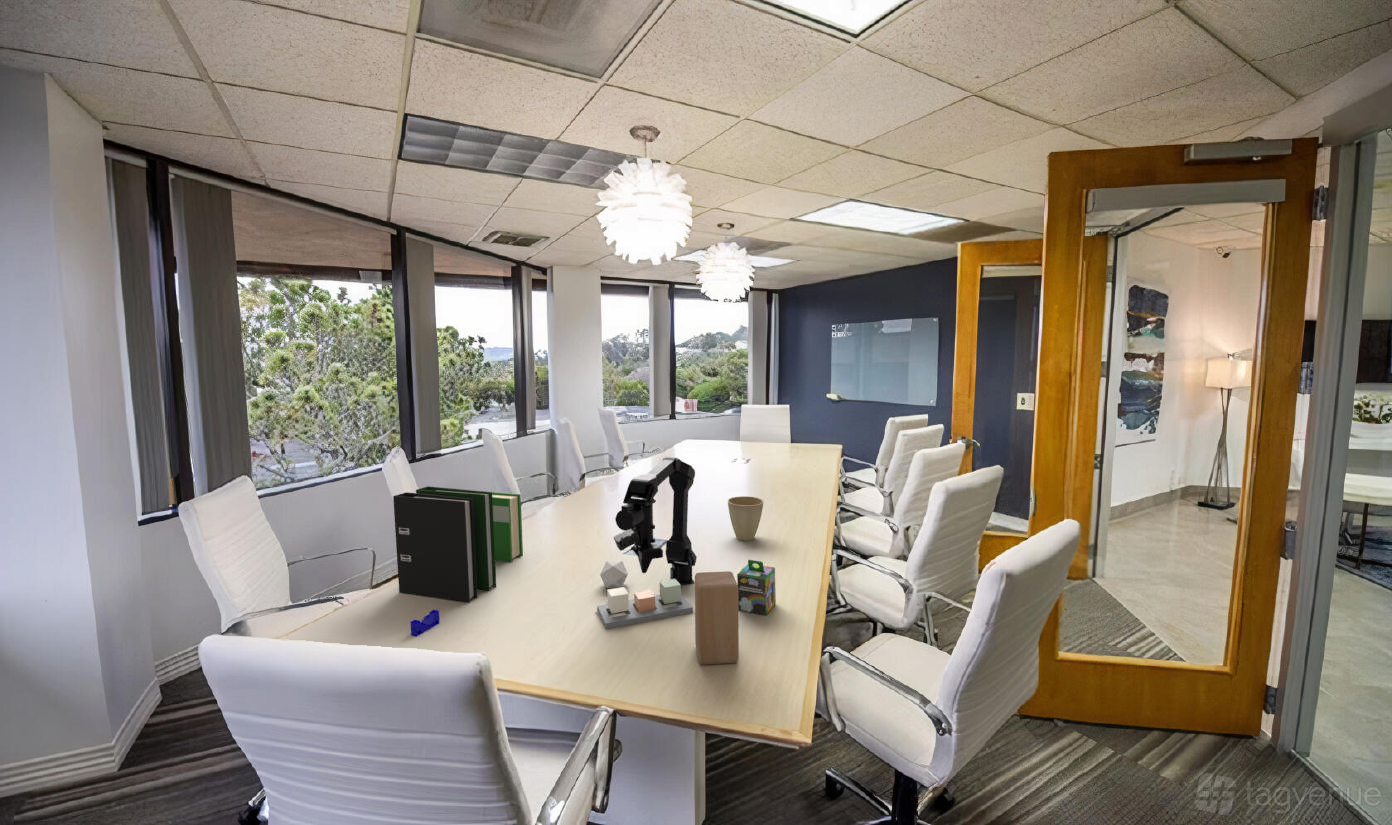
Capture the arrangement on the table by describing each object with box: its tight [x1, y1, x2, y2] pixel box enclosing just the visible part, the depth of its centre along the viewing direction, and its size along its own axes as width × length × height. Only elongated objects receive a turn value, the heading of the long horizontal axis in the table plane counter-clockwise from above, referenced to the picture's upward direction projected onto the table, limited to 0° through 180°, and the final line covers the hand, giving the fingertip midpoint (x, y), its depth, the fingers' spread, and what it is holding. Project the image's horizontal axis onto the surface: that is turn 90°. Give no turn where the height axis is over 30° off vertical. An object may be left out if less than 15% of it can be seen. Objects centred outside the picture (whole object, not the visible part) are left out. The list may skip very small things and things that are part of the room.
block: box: [694, 570, 740, 665], centre depth 138 cm, size 10×10×20 cm
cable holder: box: [409, 609, 441, 638], centre depth 154 cm, size 8×4×4 cm, turn 159°
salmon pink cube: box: [633, 589, 656, 612], centre depth 163 cm, size 5×5×5 cm
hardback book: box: [483, 490, 524, 563], centre depth 210 cm, size 18×7×24 cm, turn 72°
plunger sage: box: [659, 579, 682, 605], centre depth 166 cm, size 5×5×5 cm
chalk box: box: [736, 559, 777, 617], centre depth 165 cm, size 9×9×15 cm
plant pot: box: [727, 495, 764, 542], centre depth 229 cm, size 15×15×16 cm
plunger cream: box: [606, 586, 630, 614], centre depth 160 cm, size 5×5×5 cm
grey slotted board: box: [596, 593, 694, 630], centre depth 163 cm, size 26×12×2 cm, turn 112°
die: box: [599, 560, 629, 589], centre depth 182 cm, size 8×9×10 cm
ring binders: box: [392, 485, 497, 604], centre depth 179 cm, size 27×15×32 cm, turn 71°
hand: (644, 572), depth 162 cm, fingers closed
